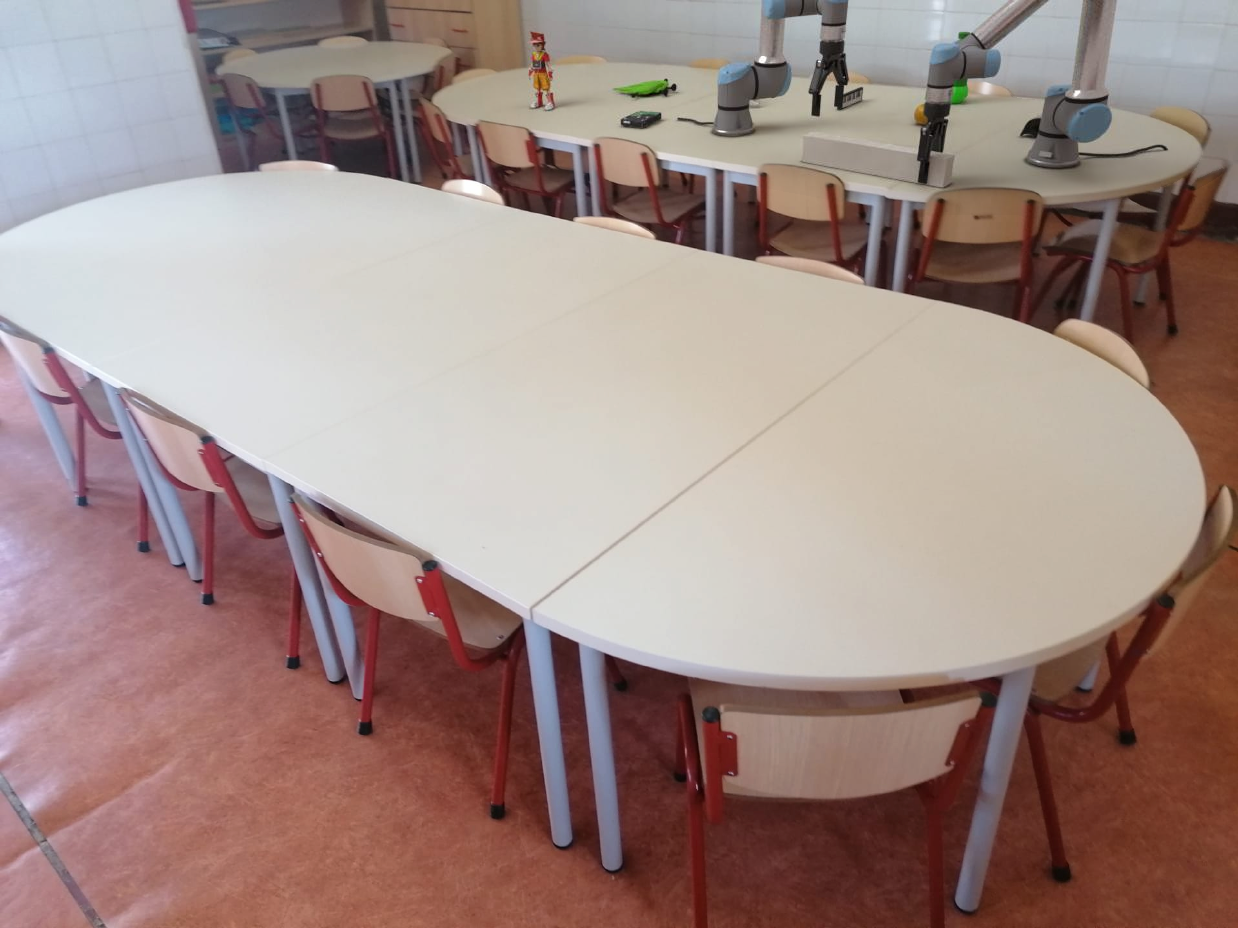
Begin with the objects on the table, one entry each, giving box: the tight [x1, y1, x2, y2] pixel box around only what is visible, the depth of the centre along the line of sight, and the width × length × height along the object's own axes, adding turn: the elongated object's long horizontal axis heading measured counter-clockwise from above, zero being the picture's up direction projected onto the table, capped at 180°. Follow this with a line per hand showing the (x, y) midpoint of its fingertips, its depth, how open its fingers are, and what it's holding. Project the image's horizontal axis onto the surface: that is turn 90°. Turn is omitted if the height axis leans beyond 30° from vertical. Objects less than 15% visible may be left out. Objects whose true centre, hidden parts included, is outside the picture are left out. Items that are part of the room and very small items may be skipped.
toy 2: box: [612, 78, 677, 99], centre depth 396 cm, size 28×5×30 cm
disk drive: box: [620, 110, 663, 129], centre depth 352 cm, size 10×3×15 cm
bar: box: [801, 131, 956, 189], centre depth 286 cm, size 50×5×9 cm, turn 47°
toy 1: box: [527, 31, 556, 111], centre depth 374 cm, size 12×9×30 cm
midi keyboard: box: [836, 86, 864, 110], centre depth 358 cm, size 18×1×5 cm, turn 138°
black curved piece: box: [1019, 113, 1042, 139], centre depth 316 cm, size 30×9×10 cm
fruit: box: [913, 103, 927, 126], centre depth 329 cm, size 8×8×8 cm
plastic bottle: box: [950, 31, 971, 104], centre depth 348 cm, size 10×10×25 cm
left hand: (826, 111), depth 290 cm, fingers open, 13 cm apart
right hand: (926, 180), depth 277 cm, fingers closed on bar, 5 cm apart
